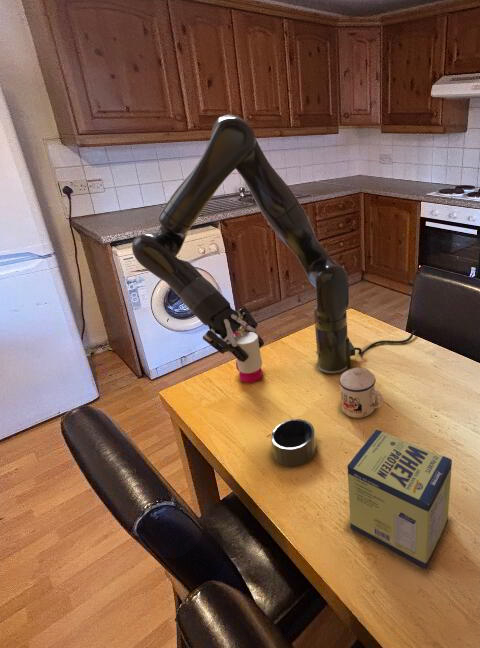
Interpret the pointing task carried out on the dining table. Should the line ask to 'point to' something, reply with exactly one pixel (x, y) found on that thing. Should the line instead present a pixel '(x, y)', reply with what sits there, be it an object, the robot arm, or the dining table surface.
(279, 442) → the dark round open container
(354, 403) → the teacup with lid
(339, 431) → the dining table surface
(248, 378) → the pepper mill
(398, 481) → the protein box
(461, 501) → the dining table surface
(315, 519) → the dining table surface
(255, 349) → the plain white cylinder
